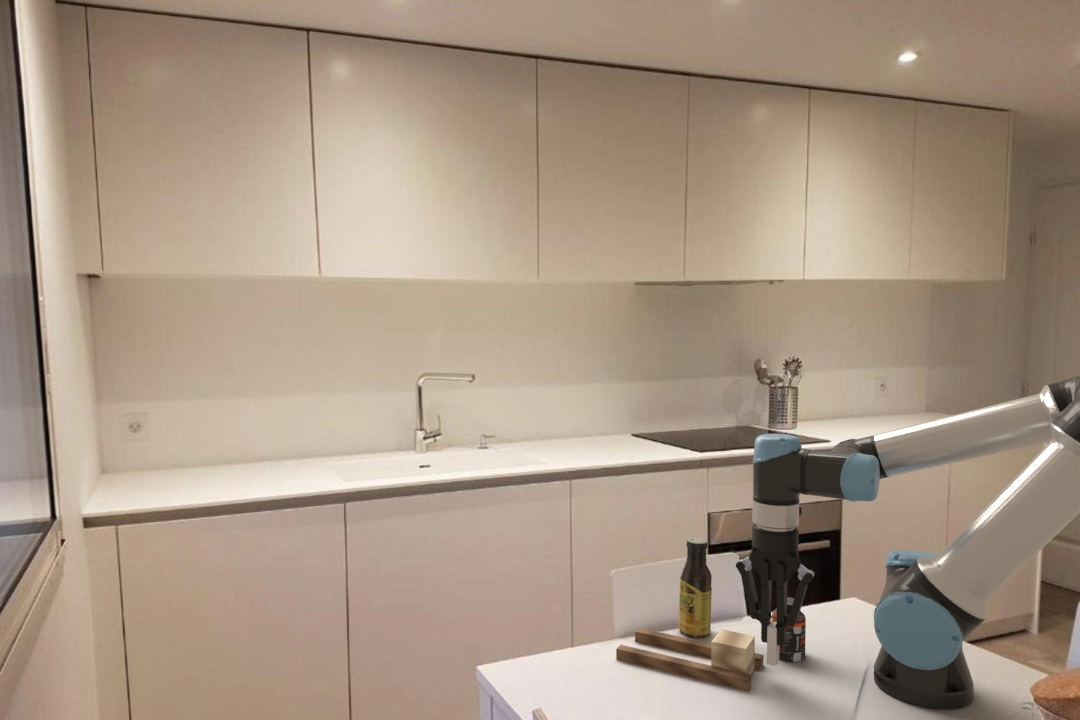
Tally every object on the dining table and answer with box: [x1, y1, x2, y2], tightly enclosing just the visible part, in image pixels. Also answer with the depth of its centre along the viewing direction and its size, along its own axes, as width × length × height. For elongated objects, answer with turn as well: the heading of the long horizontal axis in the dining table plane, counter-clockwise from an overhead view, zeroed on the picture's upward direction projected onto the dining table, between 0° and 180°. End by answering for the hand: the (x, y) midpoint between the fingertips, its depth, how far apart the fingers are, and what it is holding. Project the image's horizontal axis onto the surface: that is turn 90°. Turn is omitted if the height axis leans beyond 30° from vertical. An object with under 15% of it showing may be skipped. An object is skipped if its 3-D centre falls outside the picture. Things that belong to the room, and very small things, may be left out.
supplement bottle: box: [771, 596, 807, 663], centre depth 134 cm, size 6×6×11 cm
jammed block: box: [710, 628, 756, 676], centre depth 127 cm, size 6×6×6 cm
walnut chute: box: [615, 627, 764, 692], centre depth 131 cm, size 24×12×3 cm, turn 60°
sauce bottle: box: [678, 536, 713, 639], centre depth 144 cm, size 7×6×20 cm
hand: (773, 661), depth 124 cm, fingers closed
